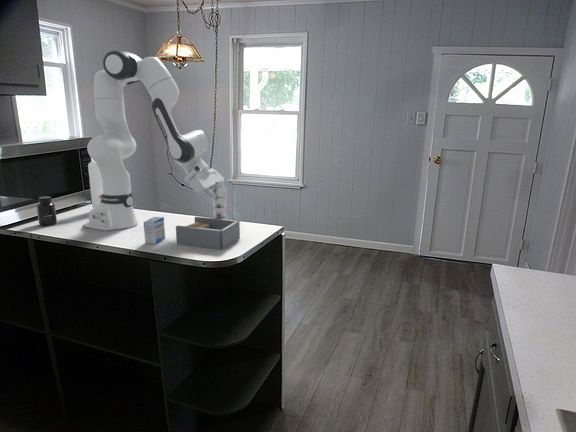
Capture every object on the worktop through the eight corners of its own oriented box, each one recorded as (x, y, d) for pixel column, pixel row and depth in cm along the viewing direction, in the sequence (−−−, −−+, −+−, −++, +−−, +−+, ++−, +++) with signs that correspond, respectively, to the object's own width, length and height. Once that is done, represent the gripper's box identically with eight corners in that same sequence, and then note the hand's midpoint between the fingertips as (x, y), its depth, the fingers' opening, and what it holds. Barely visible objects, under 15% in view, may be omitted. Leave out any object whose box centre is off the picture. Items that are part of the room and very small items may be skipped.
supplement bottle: (47, 227, 173) (43, 199, 170) (35, 225, 175) (31, 198, 172) (61, 223, 179) (57, 196, 176) (49, 221, 181) (45, 195, 178)
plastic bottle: (225, 230, 169) (224, 182, 166) (210, 230, 170) (208, 182, 167) (230, 227, 175) (229, 181, 172) (215, 227, 176) (214, 181, 173)
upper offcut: (182, 235, 156) (181, 227, 155) (197, 229, 164) (196, 222, 163) (194, 237, 153) (194, 229, 152) (209, 231, 161) (209, 224, 160)
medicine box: (155, 244, 153) (154, 222, 150) (144, 243, 153) (143, 221, 151) (165, 238, 160) (164, 216, 158) (155, 237, 161) (153, 216, 159)
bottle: (114, 210, 203) (109, 153, 196) (103, 213, 196) (97, 155, 189) (100, 209, 206) (95, 153, 199) (89, 212, 198) (82, 154, 191)
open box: (176, 244, 153) (175, 226, 151) (196, 233, 167) (196, 216, 165) (223, 249, 148) (222, 231, 146) (239, 237, 162) (239, 220, 160)
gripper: (205, 171, 182) (226, 194, 182) (181, 180, 163) (205, 206, 163) (214, 162, 179) (235, 185, 179) (191, 170, 160) (214, 196, 161)
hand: (220, 195), depth 171 cm, fingers open, 8 cm apart
